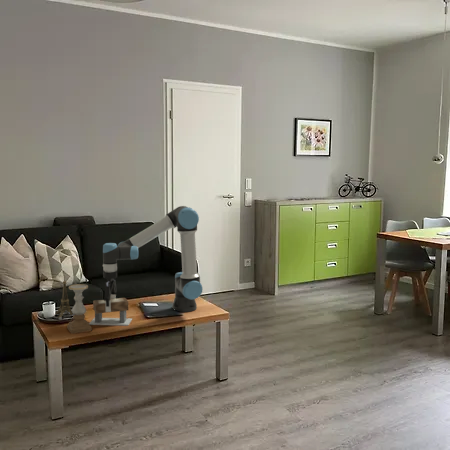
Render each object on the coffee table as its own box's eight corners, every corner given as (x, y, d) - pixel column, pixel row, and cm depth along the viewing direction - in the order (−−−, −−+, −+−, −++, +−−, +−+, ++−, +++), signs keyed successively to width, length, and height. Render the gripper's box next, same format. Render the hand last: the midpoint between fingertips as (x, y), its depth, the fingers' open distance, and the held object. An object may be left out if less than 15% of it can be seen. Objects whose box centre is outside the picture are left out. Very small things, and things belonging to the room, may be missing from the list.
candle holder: (66, 327, 278) (65, 285, 274) (86, 324, 283) (86, 282, 280) (71, 333, 268) (70, 289, 265) (92, 330, 273) (91, 287, 270)
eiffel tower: (58, 320, 290) (57, 277, 287) (53, 315, 299) (52, 273, 296) (77, 317, 296) (76, 275, 293) (71, 312, 305) (70, 271, 302)
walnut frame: (124, 306, 295) (124, 297, 294) (128, 310, 287) (128, 301, 286) (93, 309, 288) (93, 300, 287) (96, 313, 280) (95, 304, 279)
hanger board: (132, 319, 293) (132, 307, 292) (128, 325, 282) (128, 313, 282) (94, 318, 294) (94, 306, 293) (88, 324, 283) (88, 312, 282)
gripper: (108, 266, 296) (109, 302, 299) (97, 275, 273) (98, 314, 275) (121, 266, 296) (122, 302, 299) (111, 275, 273) (112, 315, 275)
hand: (110, 308), depth 287 cm, fingers closed on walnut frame, 11 cm apart
